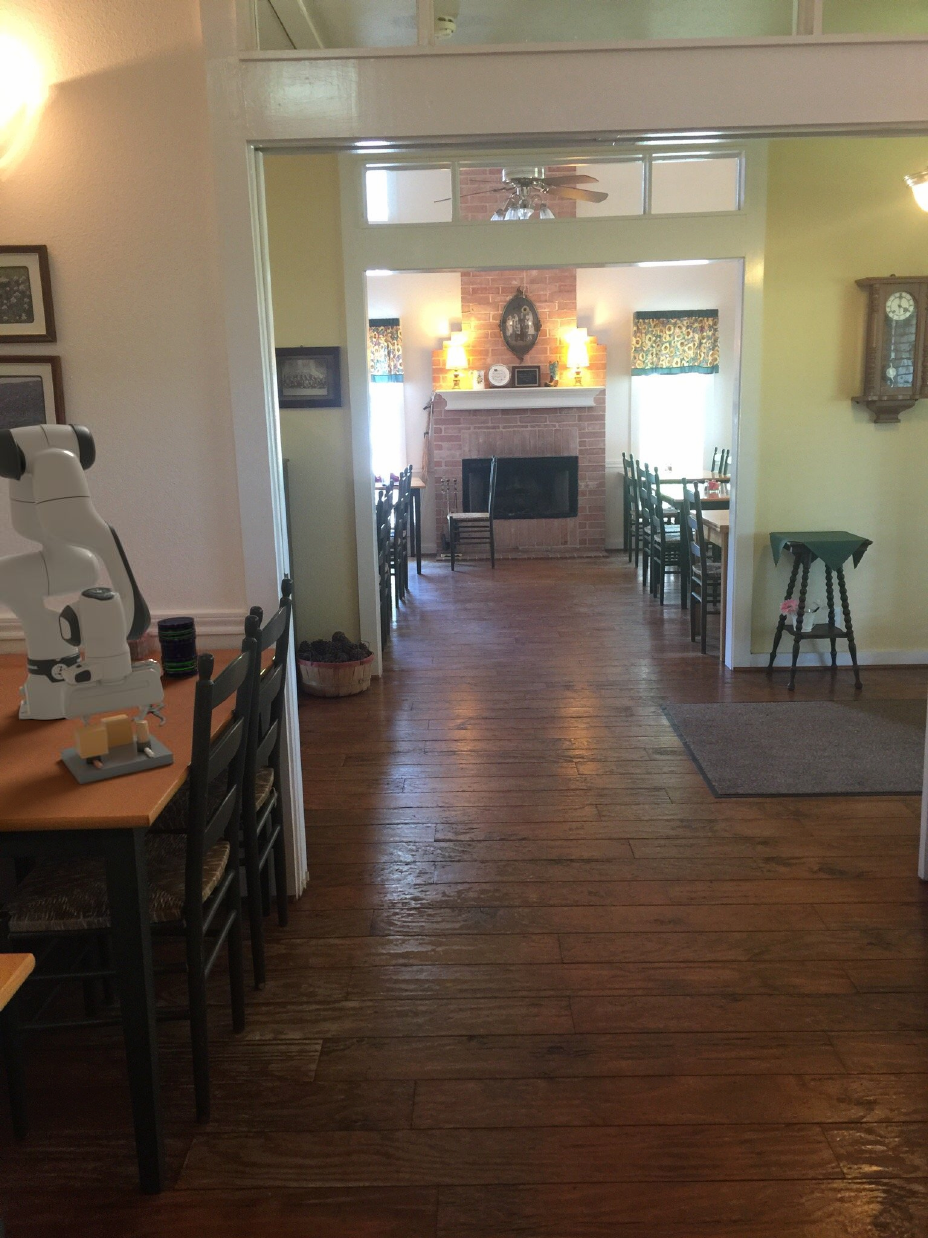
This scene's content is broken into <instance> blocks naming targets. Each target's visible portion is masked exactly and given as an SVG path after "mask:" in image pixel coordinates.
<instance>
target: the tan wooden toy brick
mask: <svg viewBox="0 0 928 1238" xmlns="http://www.w3.org/2000/svg"><path fill="white" fill-rule="evenodd" d="M131 719H132V718H130V717H128V716H127V715H126V714H125V713H124V714H118V715H114V716H107V717H105V718H104V717H103V718H100V724H101V725H102V726H103V727H104V728H105V729H106V737H107V745H108V747H109V748H110V747H115V746H120V745H124V744H129V743H134V741H133V735H134V733H133V727H132V721H131Z"/></svg>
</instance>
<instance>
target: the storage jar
mask: <svg viewBox="0 0 928 1238" xmlns="http://www.w3.org/2000/svg"><path fill="white" fill-rule="evenodd" d="M156 624H157V636H158V642H159V644H160V653H161V656H160V661H161V662H160V663H161V665H160V666H161V671H162V672H163V673H162V677H163V679H167V680H168V679H169V680H178V679H179V678H181V679H187V677H188V678H191V677H195V676H197V675H199V674H198V671H197V661H198V659H199V652H198V651H197V642H196V641H197V640H196V639H197V633H196V632H197V629H196V626H195V625H196V624H195V618H194V617H190V616H177V617H176V616H175V617H169V618H168V617H167V618H164V619H160V620H158V621H157V623H156ZM179 680H180V679H179Z"/></svg>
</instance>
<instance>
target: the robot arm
mask: <svg viewBox="0 0 928 1238" xmlns="http://www.w3.org/2000/svg"><path fill="white" fill-rule="evenodd" d="M96 446H97V445H96V442H95V440H94V437H93V434H92V432H91V431H90V430H89V429H88V428H87V427H86V425H81V424H76V423H75V424H74V423H68V424H56V423H55V424H54V423H53V424H52V423H50V424H49V423H45V424H43V423H42V424H37V425H29V426H20V427H16V428H8V427H7V428H1V429H0V477H1V478H5V479H8V497H9V506H10V516H11V517H10V518H11V525H12V528H13V529H14V531H15V532H16V533H17V534H18V536H21V537H22V538H25V539H27V540H29V541H33V542H36V543H39V544H41V545H42V550H40V551H39V550H38V551H33V552H24V553H23V552H22V553H15V554H14V553H13V554H7V555H4V556H0V604H2V605H3V606H4V607H5V608H7V609H8V610H9V611H11V612H12V613H13V614H14V616H15V617H16V619H17V620H18V621H19V623H20V625H21V627H22V631H23V634H24V640H25V644H26V649H27V650H26V651H27V658H26V666H27V672H28V677H27V678H26V681H25V683H24V684H23V685H22V686H19V694H20V697H24V698H23V699H22V700H21V701H20V706H19V712H18V719H19V720H30V719H31V720H32V719H33V720H56V719H63V718H65V719H66V720H68V721H69V720H70V721H71V720H76V719H80V720H81V721H82V723H83V724H84V726H87V725H91V724H90V722H91V716H95V715H100V714H107V713H111V712H117V711H121V710H126V709H127V710H128V709H132V708H137V707H138V709H139V710H140V711H139V714H138V715H139V716H138V715H137V716H138V717H136V716H135V717H136V718H135V720H134V721H135V722H137V721H140V720H145V717H146V716H147V715H146V713H147V711H148V705H149V704H152V705H153V704H160V703H161V702H162V701H163V700H164V697H165V694H164V690H163V685H162V681H161V677H162V666H161V665H160V663H159V662H158V661H155V660H153V659H147V660H141V661H134V662H133V661H132V660H131V658H132V657H131V651H130V650H131V649H130V645H128V641H135V640H140V639H141V638H142V637H143V636H144V635H145V634H146V633H147V632H148V629H149V628H150V626H151V624H152V616H151V612H150V608H149V607H148V604H147V602H146V600H145V598H144V596H143V594H142V592H141V591H140V587H139V586H138V583H137V581H136V578H135V575H134V572H133V571H132V568H131V564H130V563H129V560H128V557H127V555H126V552H125V549H124V547H123V544H122V542H121V540H120V537H119V535H118V533H117V531H116V530H115V528H114V526H113V525H112V524H111V523H110V522H108V521H106V520H104V519H103V518H102V517H101V516H100V514H99V513H98V511H97V510H96V508H95V506H94V503H93V501H92V496H91V490H90V487H89V483H88V480H87V477H86V474H85V471H86V470H89V469H91V468H92V466H93V465H94V463H95V461H96V455H97V447H96ZM94 554H95V555H97V556H98V557H99V558H100V559H101V560H102V562H103V565H104V566H105V568H106V571H107V575H108V577H109V579H110V582H111V584H112V587H113V588H111V587H103V586H97V587H95V586H96V585H97V583H98V581H99V579H100V575H101V566H100V564H99V560H98V559H97V557H96V556H95V555H94ZM78 593H79V596H78V597H79V598H78V600H76V601H74V602H73V603H72V602H71V603H69V604H67V605H66V606H65V607H64V608H63V609H62V610H61V612H60V611H57V610H53V609H50V608H48V607H46V604H45V602H44V600H45V599H47V598H54V597H55V598H56V597H61V596H68V595H76V594H78ZM78 648H84V654H83V655H84V659H83V660H82V655H81V652H80V650H78Z"/></svg>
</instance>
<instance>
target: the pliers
mask: <svg viewBox="0 0 928 1238" xmlns="http://www.w3.org/2000/svg"><path fill="white" fill-rule="evenodd" d="M164 707H165V702H164V701H163V700H162V701H161V702H159V703H158V704H157V706H154V707H153V704H148V711H147V713H146V715H145V716H148V715H149V714H152V713H153V715H154V716H156V717H158V718H159V719H161V720H162V722H161V723H160V724H159V727H160V726H161V727H163V726H164V725H165V724H166V721H167V719H166V717H165V716H164V715H162V714H161V713H160V711H161V710H162V709H164ZM138 716H139V714H138V715H137V716H135V717H131V718H130V719H131V722H133V720H134V721H135V718H136V717H138Z"/></svg>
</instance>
